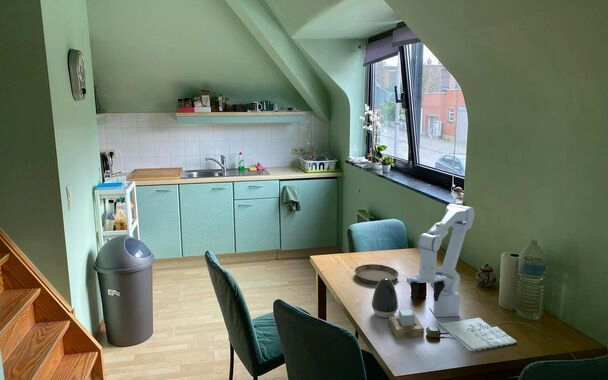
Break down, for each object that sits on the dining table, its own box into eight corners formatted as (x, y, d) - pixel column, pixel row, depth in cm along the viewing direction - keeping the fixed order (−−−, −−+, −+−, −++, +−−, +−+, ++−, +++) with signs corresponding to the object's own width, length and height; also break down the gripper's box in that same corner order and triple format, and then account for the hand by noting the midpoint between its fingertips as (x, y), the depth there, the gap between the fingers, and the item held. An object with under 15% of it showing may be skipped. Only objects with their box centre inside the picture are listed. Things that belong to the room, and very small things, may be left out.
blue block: (410, 321, 170) (411, 309, 169) (414, 327, 166) (414, 315, 165) (398, 322, 170) (399, 309, 169) (401, 328, 165) (402, 315, 164)
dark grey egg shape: (378, 322, 174) (379, 285, 171) (367, 310, 184) (368, 275, 181) (402, 319, 177) (404, 282, 174) (390, 307, 187) (391, 272, 184)
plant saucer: (396, 270, 226) (396, 264, 226) (400, 288, 206) (400, 281, 206) (354, 269, 228) (354, 263, 228) (354, 286, 208) (354, 279, 208)
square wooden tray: (414, 323, 174) (415, 315, 173) (423, 337, 164) (424, 328, 163) (389, 324, 173) (389, 316, 172) (396, 338, 163) (396, 329, 162)
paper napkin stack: (470, 354, 155) (471, 348, 154) (437, 325, 174) (438, 320, 173) (517, 345, 160) (518, 340, 159) (480, 318, 179) (480, 313, 178)
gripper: (411, 270, 162) (409, 305, 165) (451, 269, 164) (448, 304, 166) (405, 263, 169) (403, 297, 172) (443, 262, 171) (441, 296, 173)
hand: (425, 300), depth 170 cm, fingers open, 7 cm apart
